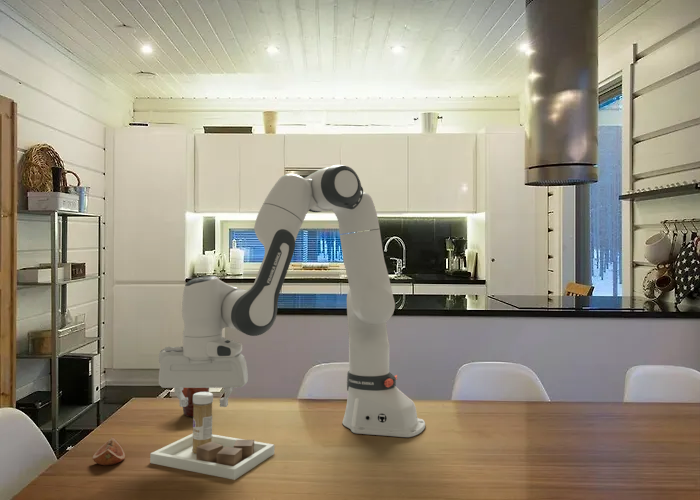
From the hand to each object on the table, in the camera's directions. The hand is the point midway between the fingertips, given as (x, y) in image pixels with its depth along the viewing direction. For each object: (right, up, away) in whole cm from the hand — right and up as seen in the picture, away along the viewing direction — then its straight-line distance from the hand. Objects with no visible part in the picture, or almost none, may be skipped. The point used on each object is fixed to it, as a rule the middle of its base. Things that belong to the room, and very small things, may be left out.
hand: (203, 406), depth 133 cm
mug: (-11, -11, +30) cm, 34 cm away
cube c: (+10, -11, -5) cm, 16 cm away
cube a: (+8, -11, -10) cm, 17 cm away
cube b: (+3, -11, -7) cm, 13 cm away
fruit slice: (-20, -12, -6) cm, 24 cm away
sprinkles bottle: (-1, -11, 0) cm, 11 cm away
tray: (+3, -12, -4) cm, 12 cm away
